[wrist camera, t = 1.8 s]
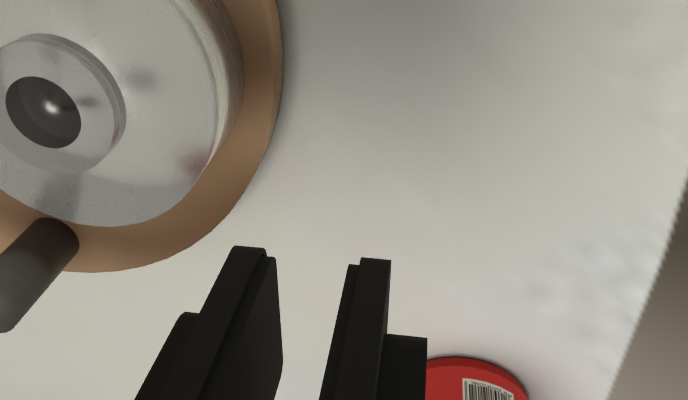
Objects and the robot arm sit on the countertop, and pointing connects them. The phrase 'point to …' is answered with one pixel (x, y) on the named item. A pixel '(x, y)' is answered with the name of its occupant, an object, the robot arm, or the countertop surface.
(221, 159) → the turntable
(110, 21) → the cover
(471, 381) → the canned food
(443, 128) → the countertop surface
